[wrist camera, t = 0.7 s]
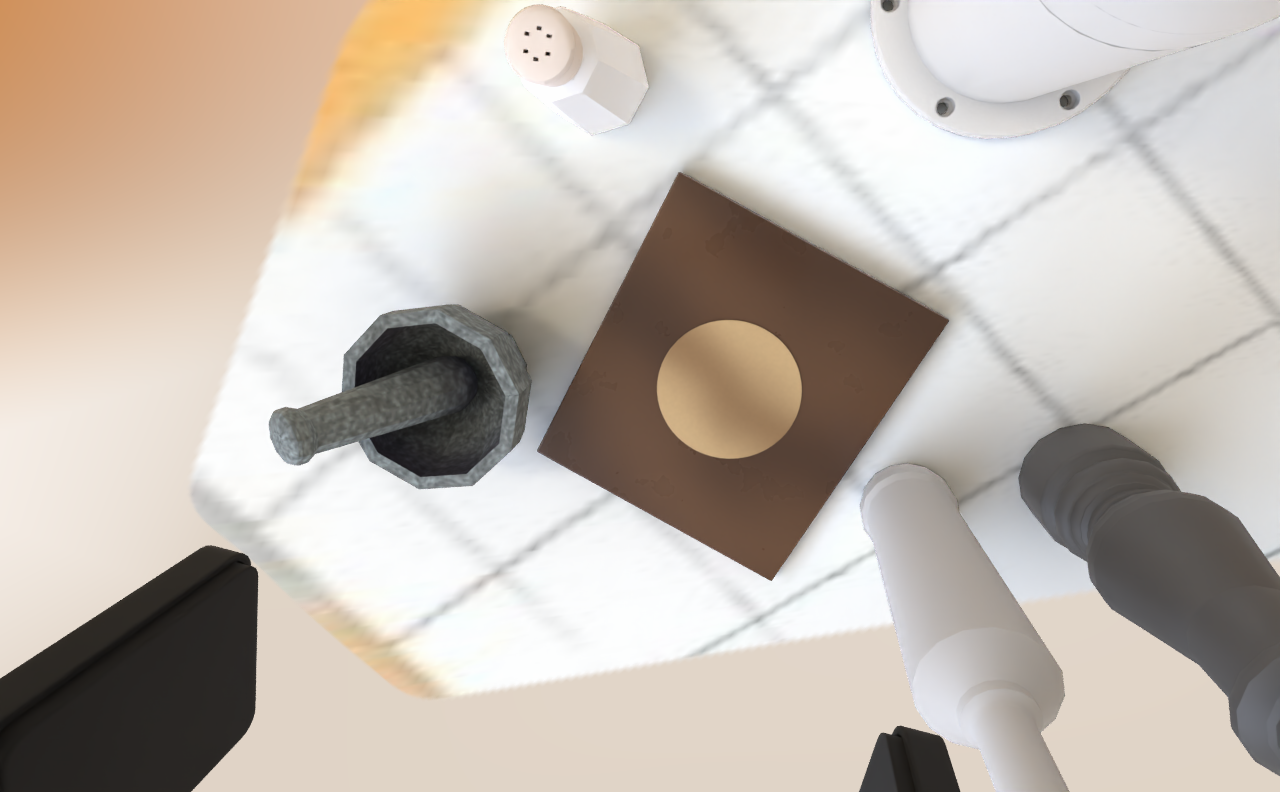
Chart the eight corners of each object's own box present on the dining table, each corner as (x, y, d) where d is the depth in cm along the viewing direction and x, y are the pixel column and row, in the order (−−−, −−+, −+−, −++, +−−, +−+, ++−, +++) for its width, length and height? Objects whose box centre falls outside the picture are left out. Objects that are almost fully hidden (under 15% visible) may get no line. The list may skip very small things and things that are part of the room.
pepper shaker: (642, 142, 39) (597, 128, 29) (543, 129, 40) (465, 109, 29) (656, 30, 37) (615, -28, 27) (553, 18, 38) (474, -44, 28)
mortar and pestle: (542, 282, 42) (460, 320, 31) (568, 437, 44) (500, 525, 33) (363, 304, 44) (224, 346, 33) (397, 450, 46) (278, 537, 35)
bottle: (971, 504, 42) (1248, 930, 18) (900, 559, 43) (1067, 1018, 19) (908, 441, 41) (1105, 792, 17) (838, 499, 43) (931, 894, 19)
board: (680, 171, 39) (678, 171, 38) (945, 316, 39) (950, 320, 38) (541, 446, 45) (535, 452, 44) (771, 573, 45) (771, 582, 44)
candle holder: (1157, 506, 40) (1734, 978, 16) (1040, 544, 42) (1408, 1024, 18) (1120, 406, 39) (1681, 755, 15) (1002, 449, 40) (1339, 827, 17)
